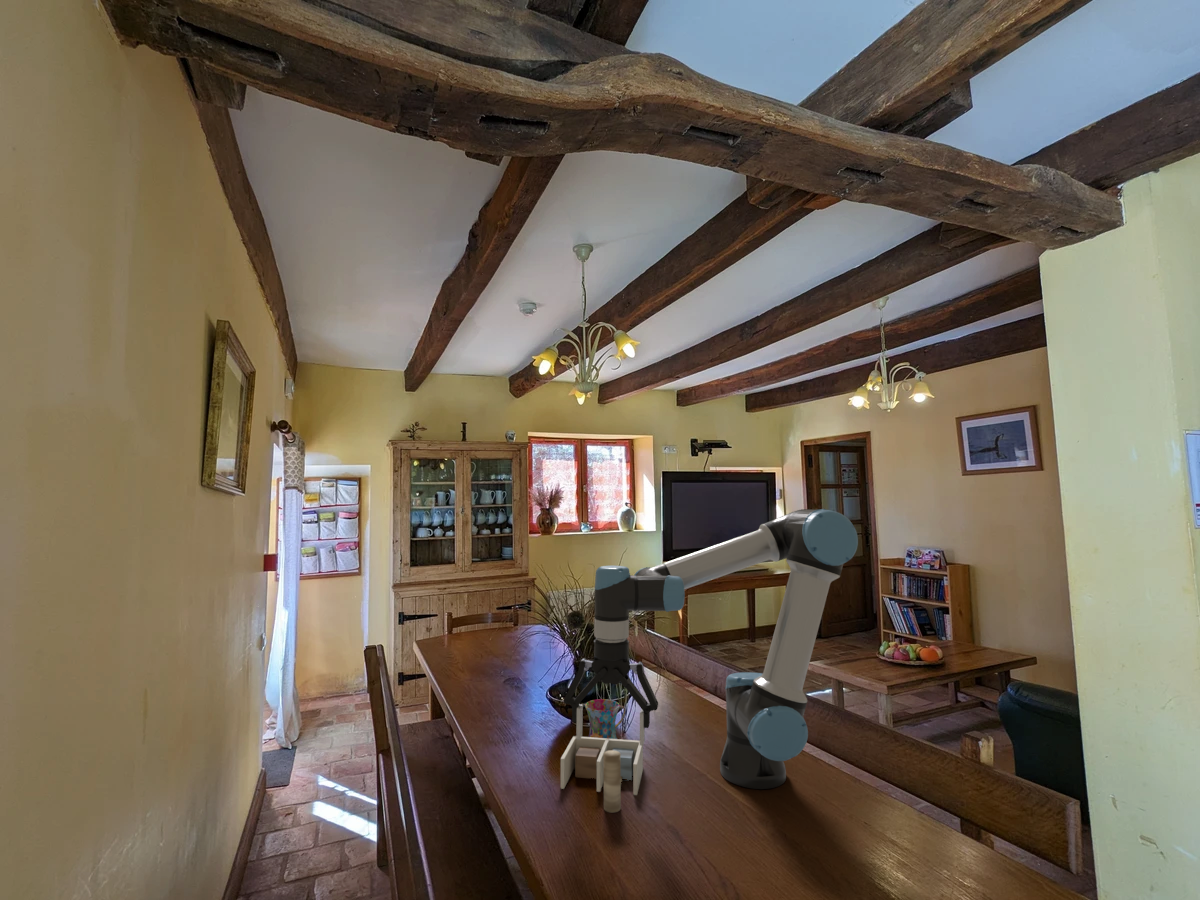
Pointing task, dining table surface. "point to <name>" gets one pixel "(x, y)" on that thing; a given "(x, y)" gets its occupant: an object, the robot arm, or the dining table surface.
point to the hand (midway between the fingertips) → (610, 740)
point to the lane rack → (601, 758)
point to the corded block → (616, 776)
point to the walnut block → (586, 762)
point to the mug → (603, 718)
